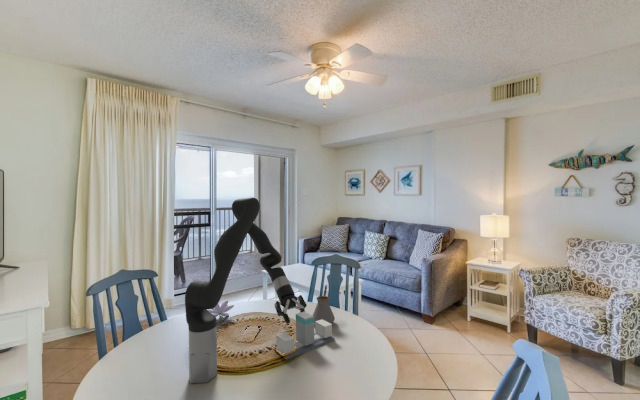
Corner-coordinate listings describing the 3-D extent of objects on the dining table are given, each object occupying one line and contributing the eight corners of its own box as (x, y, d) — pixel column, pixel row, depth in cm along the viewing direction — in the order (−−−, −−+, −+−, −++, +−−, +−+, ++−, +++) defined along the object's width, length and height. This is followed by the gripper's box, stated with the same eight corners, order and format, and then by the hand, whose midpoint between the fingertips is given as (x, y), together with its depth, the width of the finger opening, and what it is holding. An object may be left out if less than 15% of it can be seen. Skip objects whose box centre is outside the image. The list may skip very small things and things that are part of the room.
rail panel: (285, 360, 114) (285, 342, 114) (274, 350, 121) (274, 334, 121) (334, 340, 129) (334, 324, 129) (321, 332, 136) (321, 318, 136)
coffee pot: (333, 329, 140) (333, 298, 139) (309, 328, 141) (309, 297, 141) (337, 312, 161) (336, 284, 161) (316, 311, 162) (316, 284, 162)
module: (305, 346, 121) (305, 319, 121) (295, 339, 126) (295, 314, 126) (314, 342, 124) (314, 316, 124) (304, 336, 129) (304, 311, 129)
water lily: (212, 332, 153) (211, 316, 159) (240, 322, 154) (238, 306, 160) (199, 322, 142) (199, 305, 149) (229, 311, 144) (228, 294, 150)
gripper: (272, 287, 132) (286, 320, 123) (298, 281, 141) (313, 312, 132) (267, 295, 136) (280, 329, 127) (292, 289, 145) (306, 320, 136)
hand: (297, 320), depth 130 cm, fingers open, 8 cm apart
